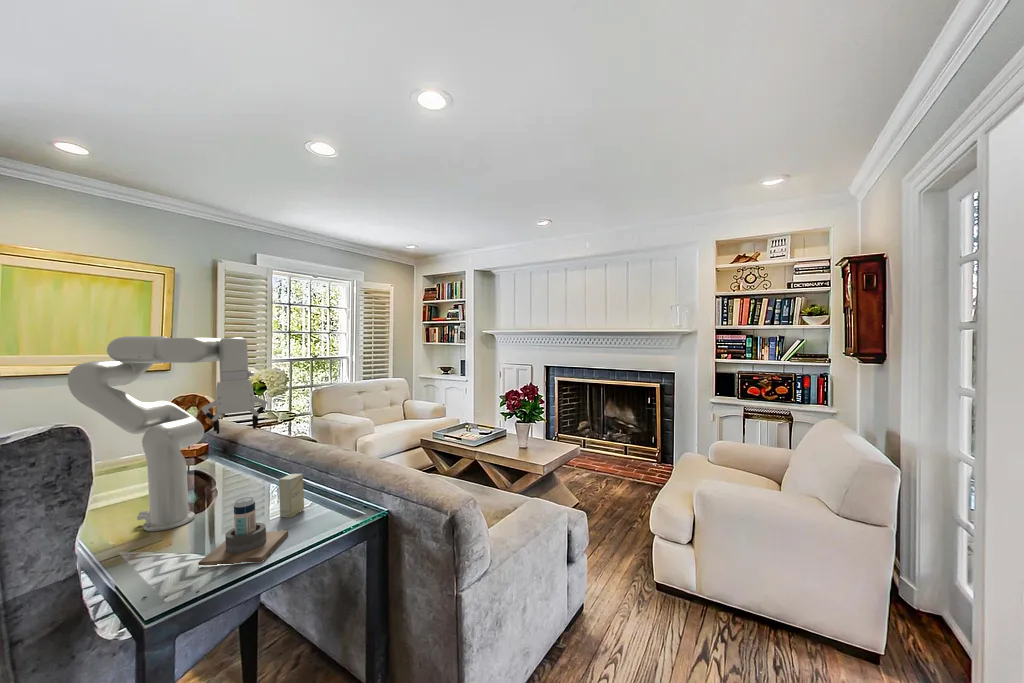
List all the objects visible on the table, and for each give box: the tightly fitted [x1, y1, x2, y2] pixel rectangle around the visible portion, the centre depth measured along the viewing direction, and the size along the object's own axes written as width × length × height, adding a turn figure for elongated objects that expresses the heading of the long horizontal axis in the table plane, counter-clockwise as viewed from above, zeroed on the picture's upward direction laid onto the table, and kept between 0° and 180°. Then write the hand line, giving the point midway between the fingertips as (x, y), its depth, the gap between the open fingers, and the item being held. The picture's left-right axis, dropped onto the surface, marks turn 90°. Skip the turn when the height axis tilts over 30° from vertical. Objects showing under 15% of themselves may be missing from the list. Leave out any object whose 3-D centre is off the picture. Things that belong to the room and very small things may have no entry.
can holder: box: [198, 522, 289, 566], centre depth 112 cm, size 15×15×6 cm
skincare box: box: [278, 473, 305, 518], centre depth 136 cm, size 6×4×12 cm
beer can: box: [233, 496, 257, 536], centre depth 112 cm, size 5×5×12 cm
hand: (236, 430), depth 132 cm, fingers open, 9 cm apart
